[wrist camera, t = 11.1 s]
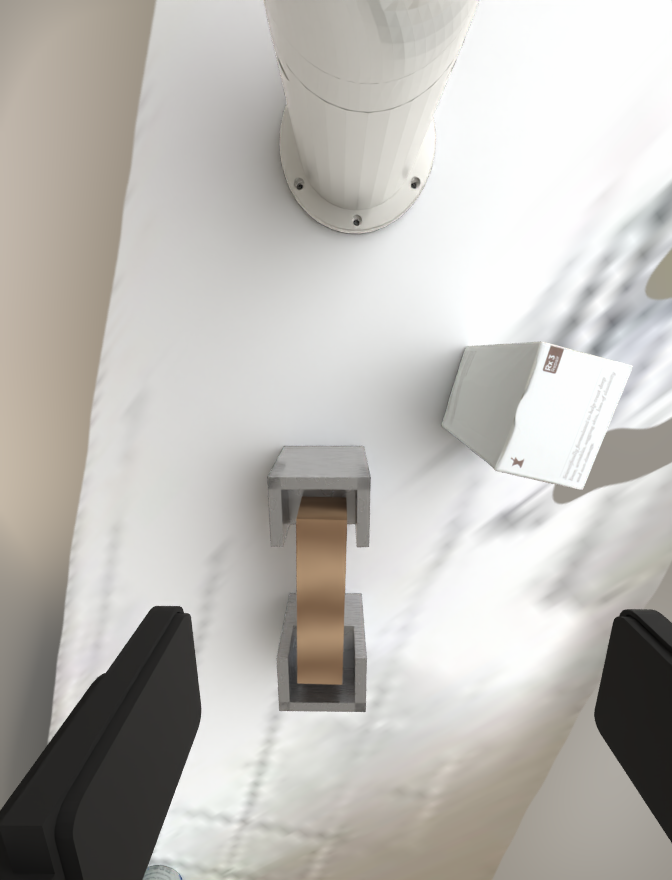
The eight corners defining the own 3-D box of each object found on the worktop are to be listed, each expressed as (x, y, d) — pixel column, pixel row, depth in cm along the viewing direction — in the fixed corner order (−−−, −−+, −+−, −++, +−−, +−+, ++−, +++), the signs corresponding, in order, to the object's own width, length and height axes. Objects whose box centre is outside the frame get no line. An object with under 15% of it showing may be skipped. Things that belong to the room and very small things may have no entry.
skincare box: (494, 439, 38) (585, 500, 24) (436, 424, 38) (493, 477, 24) (525, 355, 36) (644, 366, 22) (463, 339, 36) (544, 340, 22)
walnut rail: (301, 496, 35) (296, 518, 31) (346, 497, 35) (347, 520, 30) (302, 644, 39) (297, 683, 35) (342, 645, 39) (342, 684, 35)
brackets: (284, 446, 39) (267, 477, 30) (364, 446, 39) (370, 477, 30) (291, 638, 45) (279, 710, 36) (360, 638, 45) (365, 711, 36)
